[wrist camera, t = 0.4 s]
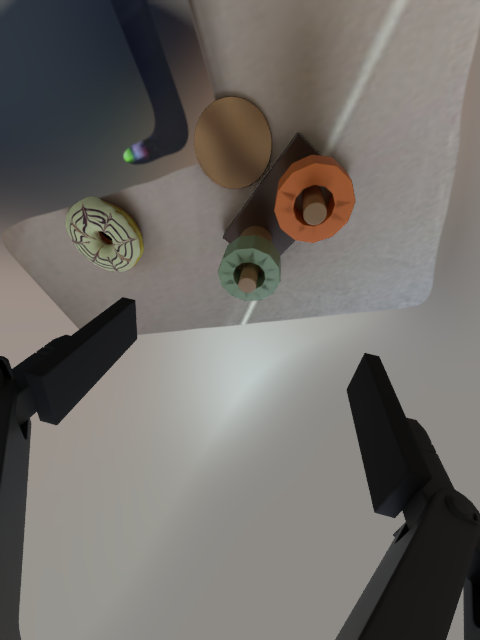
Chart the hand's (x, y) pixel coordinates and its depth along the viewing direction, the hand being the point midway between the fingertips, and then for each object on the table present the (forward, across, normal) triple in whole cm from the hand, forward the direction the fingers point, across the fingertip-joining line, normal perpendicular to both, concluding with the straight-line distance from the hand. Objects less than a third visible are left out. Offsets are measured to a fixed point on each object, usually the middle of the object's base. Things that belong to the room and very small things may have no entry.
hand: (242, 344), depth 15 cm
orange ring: (+18, +3, +7) cm, 20 cm away
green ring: (+20, -2, -2) cm, 20 cm away
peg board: (+26, 0, +4) cm, 26 cm away
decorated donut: (+26, -24, -3) cm, 35 cm away
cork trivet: (+24, -7, +10) cm, 27 cm away
